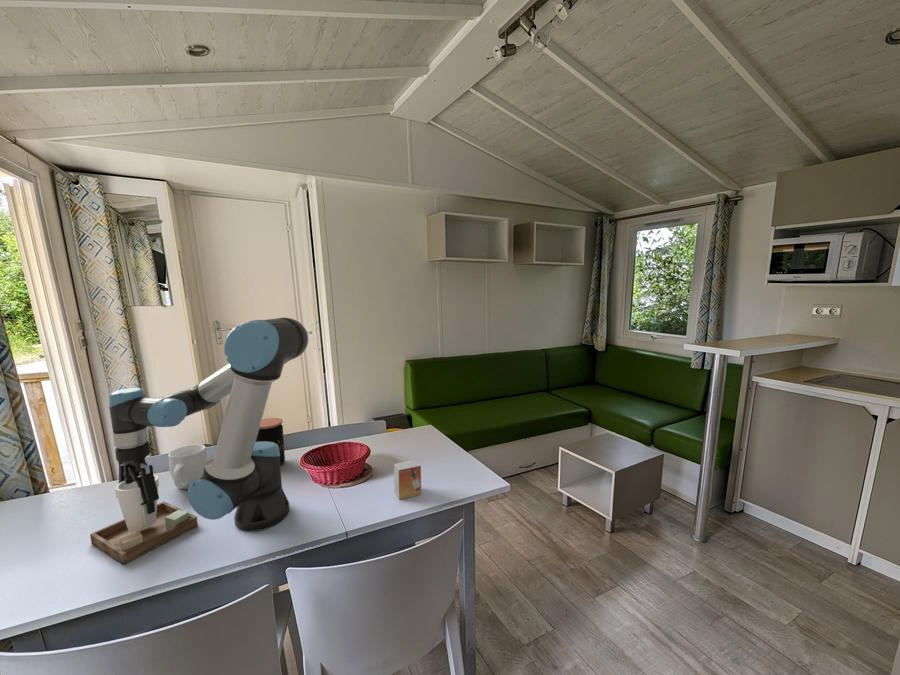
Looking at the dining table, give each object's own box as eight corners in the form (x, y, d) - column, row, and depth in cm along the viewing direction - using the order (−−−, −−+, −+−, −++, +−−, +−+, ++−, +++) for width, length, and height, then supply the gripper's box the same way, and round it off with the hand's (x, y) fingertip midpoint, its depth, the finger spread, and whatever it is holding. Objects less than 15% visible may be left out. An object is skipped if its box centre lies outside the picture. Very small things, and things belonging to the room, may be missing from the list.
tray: (197, 525, 111) (196, 516, 111) (123, 565, 95) (122, 554, 95) (165, 510, 119) (164, 501, 119) (91, 544, 103) (90, 534, 103)
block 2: (189, 524, 111) (188, 511, 110) (176, 532, 107) (175, 519, 106) (179, 522, 112) (178, 509, 111) (166, 530, 108) (164, 517, 108)
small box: (398, 500, 124) (398, 470, 122) (394, 492, 129) (393, 463, 128) (421, 494, 127) (421, 465, 126) (416, 487, 132) (415, 458, 131)
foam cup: (138, 537, 102) (133, 492, 101) (111, 533, 104) (106, 489, 102) (170, 516, 111) (166, 475, 110) (145, 513, 113) (140, 472, 112)
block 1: (143, 550, 100) (142, 536, 99) (124, 558, 97) (122, 543, 96) (140, 543, 102) (139, 529, 102) (121, 550, 100) (120, 537, 99)
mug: (196, 496, 127) (193, 460, 125) (159, 500, 125) (155, 463, 123) (213, 475, 141) (210, 442, 140) (180, 479, 139) (177, 445, 137)
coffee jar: (277, 471, 144) (274, 426, 142) (250, 471, 144) (246, 427, 142) (289, 459, 155) (287, 417, 152) (264, 459, 155) (261, 417, 153)
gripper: (169, 445, 103) (177, 521, 106) (129, 432, 113) (137, 502, 116) (136, 456, 96) (146, 536, 99) (97, 441, 106) (106, 514, 109)
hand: (141, 518), depth 107 cm, fingers closed on foam cup, 9 cm apart
